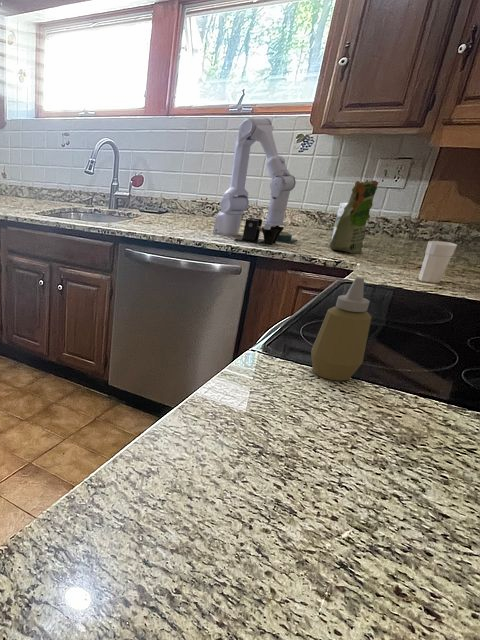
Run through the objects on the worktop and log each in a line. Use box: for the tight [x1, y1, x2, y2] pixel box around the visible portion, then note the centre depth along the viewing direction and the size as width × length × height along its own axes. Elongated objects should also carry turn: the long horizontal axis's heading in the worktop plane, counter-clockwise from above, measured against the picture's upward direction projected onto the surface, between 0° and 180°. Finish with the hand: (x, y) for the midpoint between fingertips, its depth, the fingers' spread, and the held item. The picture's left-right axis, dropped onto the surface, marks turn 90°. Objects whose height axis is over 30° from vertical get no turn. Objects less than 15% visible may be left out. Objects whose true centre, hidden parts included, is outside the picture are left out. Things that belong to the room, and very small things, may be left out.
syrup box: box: [330, 202, 348, 241], centre depth 205 cm, size 6×6×14 cm
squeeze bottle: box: [310, 276, 372, 382], centre depth 91 cm, size 8×8×18 cm
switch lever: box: [252, 219, 263, 234], centre depth 199 cm, size 11×3×3 cm, turn 47°
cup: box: [417, 240, 458, 284], centre depth 153 cm, size 7×7×11 cm
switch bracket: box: [234, 217, 264, 245], centre depth 201 cm, size 9×8×9 cm
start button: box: [279, 229, 289, 235], centre depth 203 cm, size 3×3×2 cm
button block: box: [276, 233, 298, 244], centre depth 204 cm, size 9×6×3 cm, turn 46°
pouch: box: [328, 179, 379, 255], centre depth 185 cm, size 11×12×25 cm
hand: (268, 246), depth 199 cm, fingers closed on switch lever, 3 cm apart
